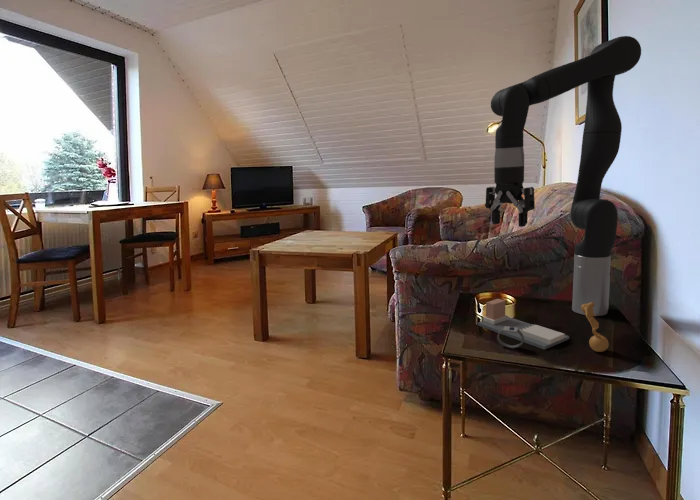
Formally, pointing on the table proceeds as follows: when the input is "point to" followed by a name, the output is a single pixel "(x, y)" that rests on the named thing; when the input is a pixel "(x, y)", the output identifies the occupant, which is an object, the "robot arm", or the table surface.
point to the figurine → (597, 340)
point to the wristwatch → (510, 330)
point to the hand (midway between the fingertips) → (508, 225)
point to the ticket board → (528, 333)
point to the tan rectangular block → (495, 311)
